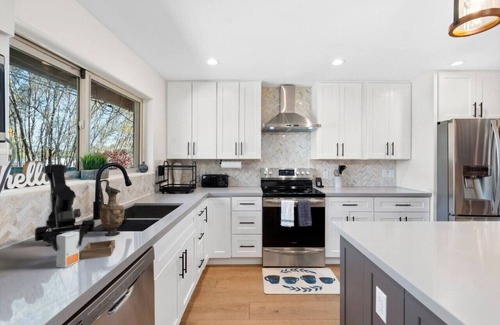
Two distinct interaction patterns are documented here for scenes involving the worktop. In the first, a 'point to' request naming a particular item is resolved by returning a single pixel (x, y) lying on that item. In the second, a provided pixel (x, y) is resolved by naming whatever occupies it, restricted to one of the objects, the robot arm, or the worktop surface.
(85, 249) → the walnut holder
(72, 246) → the skincare box
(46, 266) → the worktop surface
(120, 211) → the vase
